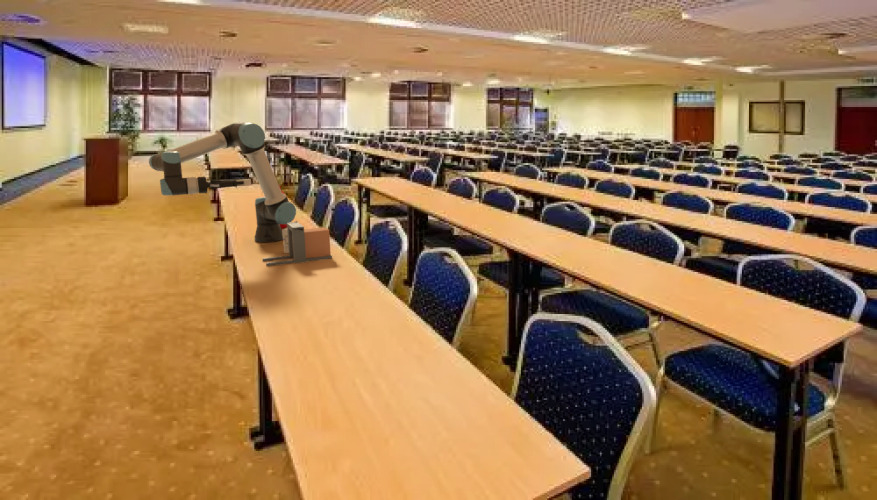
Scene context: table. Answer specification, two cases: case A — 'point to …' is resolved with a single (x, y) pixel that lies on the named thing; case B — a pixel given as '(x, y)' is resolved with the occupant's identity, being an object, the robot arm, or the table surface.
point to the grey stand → (295, 247)
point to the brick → (317, 242)
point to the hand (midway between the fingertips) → (250, 182)
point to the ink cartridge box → (285, 240)
